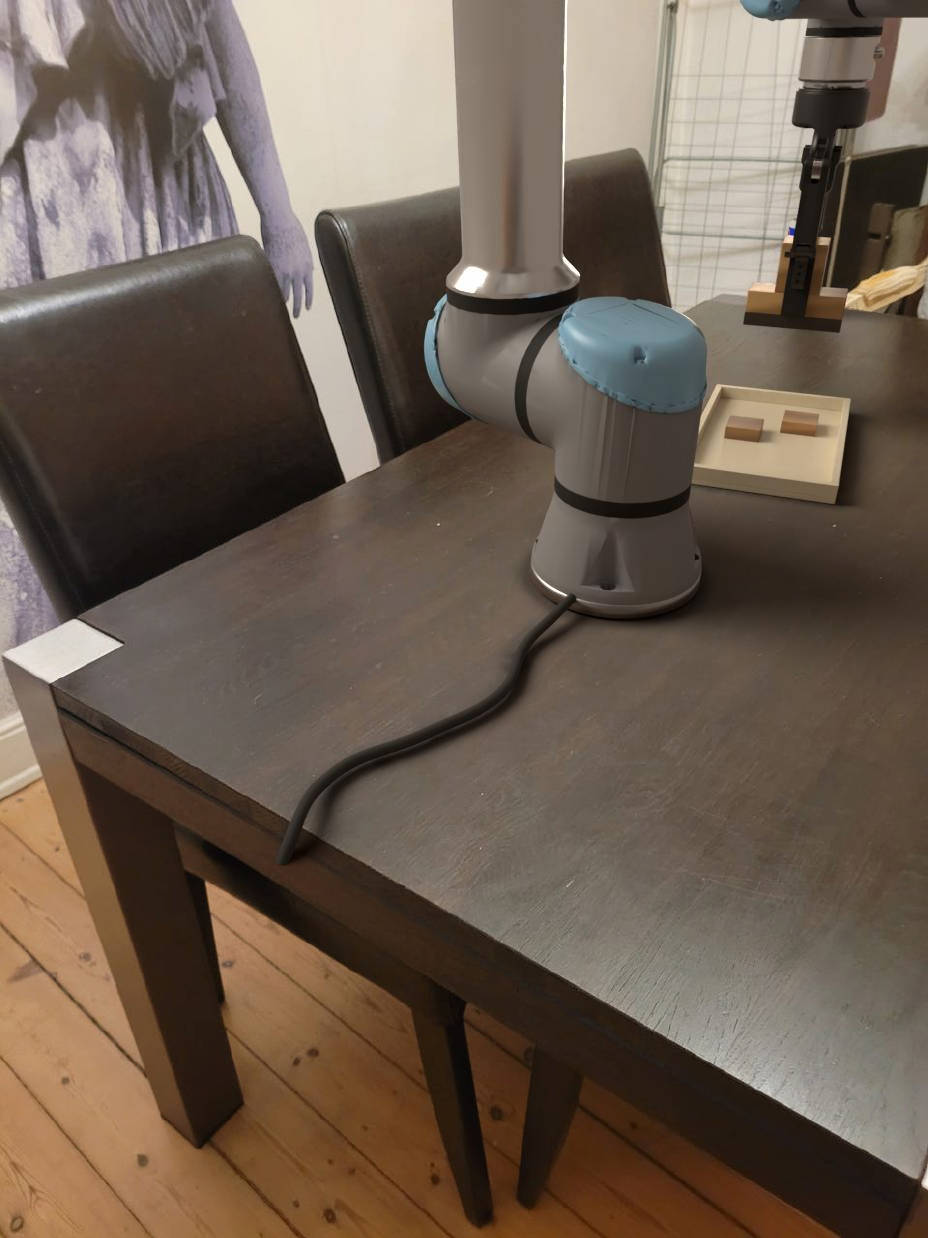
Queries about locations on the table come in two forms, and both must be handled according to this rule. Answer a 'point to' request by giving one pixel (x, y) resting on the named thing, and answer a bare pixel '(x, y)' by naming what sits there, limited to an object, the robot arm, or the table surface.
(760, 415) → the tray
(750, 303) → the brush
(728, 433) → the chip
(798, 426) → the chip
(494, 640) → the table surface
